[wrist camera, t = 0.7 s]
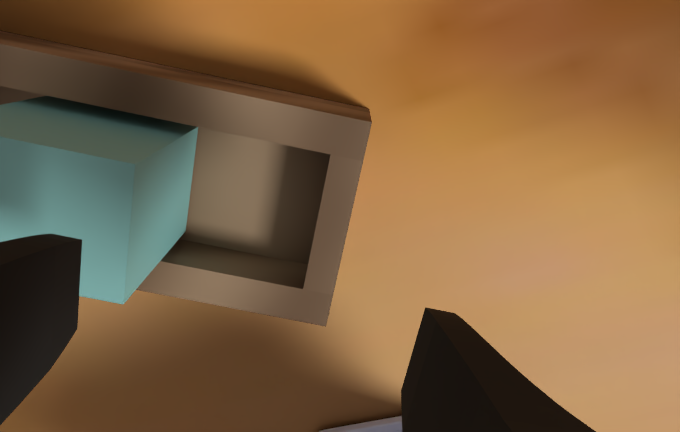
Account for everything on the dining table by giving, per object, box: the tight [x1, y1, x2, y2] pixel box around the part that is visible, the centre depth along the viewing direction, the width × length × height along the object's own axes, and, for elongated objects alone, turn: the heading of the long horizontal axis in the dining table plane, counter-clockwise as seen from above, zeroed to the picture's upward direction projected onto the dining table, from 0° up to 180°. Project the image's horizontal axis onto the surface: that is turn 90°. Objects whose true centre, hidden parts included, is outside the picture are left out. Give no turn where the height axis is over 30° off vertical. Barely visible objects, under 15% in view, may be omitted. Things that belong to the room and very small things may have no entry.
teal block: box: [0, 96, 198, 304], centre depth 16 cm, size 5×4×6 cm
